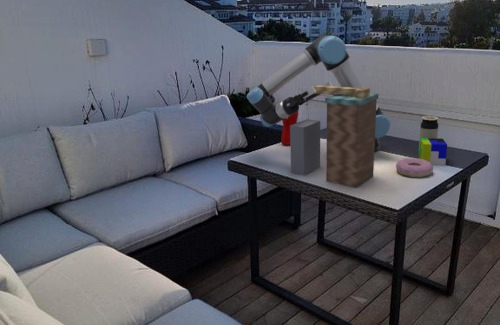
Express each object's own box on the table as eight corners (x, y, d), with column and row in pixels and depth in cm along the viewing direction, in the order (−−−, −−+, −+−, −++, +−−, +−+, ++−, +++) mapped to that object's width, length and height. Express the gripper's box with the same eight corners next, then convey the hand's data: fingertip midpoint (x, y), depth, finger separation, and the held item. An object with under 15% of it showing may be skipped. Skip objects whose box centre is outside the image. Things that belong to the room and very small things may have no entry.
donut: (399, 165, 204) (400, 155, 202) (435, 169, 196) (436, 158, 195) (391, 176, 191) (392, 165, 189) (429, 181, 184) (430, 169, 182)
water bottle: (299, 141, 250) (299, 97, 242) (297, 146, 240) (296, 101, 232) (283, 140, 252) (282, 97, 244) (280, 146, 242) (279, 101, 234)
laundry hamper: (324, 181, 188) (325, 95, 177) (343, 170, 201) (345, 88, 189) (356, 188, 179) (359, 98, 167) (374, 176, 191) (378, 91, 180)
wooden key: (309, 94, 187) (309, 86, 186) (318, 91, 192) (318, 84, 191) (361, 98, 172) (362, 90, 171) (369, 95, 177) (370, 87, 176)
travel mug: (427, 156, 213) (430, 120, 207) (415, 152, 220) (417, 117, 214) (439, 153, 216) (442, 118, 210) (427, 149, 223) (430, 115, 217)
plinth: (291, 172, 201) (290, 125, 194) (307, 164, 211) (307, 119, 204) (303, 175, 197) (303, 127, 190) (320, 166, 207) (320, 120, 200)
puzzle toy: (445, 165, 200) (447, 144, 197) (422, 165, 202) (423, 144, 199) (440, 158, 209) (442, 138, 206) (418, 158, 211) (420, 138, 208)
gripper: (306, 109, 210) (341, 90, 195) (274, 120, 192) (310, 99, 177) (299, 95, 210) (333, 74, 195) (267, 105, 192) (302, 82, 177)
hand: (322, 86), depth 186 cm, fingers open, 13 cm apart
